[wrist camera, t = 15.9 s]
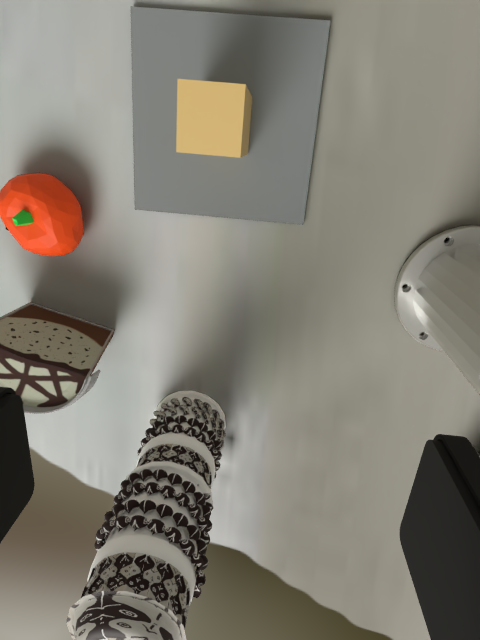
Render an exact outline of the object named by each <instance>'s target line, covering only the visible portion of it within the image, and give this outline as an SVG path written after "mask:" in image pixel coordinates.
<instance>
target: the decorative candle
mask: <svg viewBox="0 0 480 640" xmlns="http://www.w3.org/2000/svg"><path fill="white" fill-rule="evenodd" d="M154 415H155V419H151V420H150V424H151V425H152V426H153V428H149V429H147V430H146V432H145V434H146V438H144V439H142V441H141V445H142V447H141V448H140V449H139V450H138V455H139V457H138V460H137V464H136V467H135V469H134V470H133V471H132V472H131V473H130V474H129V475H128V476H127V477H126V479H125V480H124V481H123V482H122V483H121V488H122V490H120V492H119V494H118V495H116V496H115V498H114V504H115V505H114V506H113V508H112V511H109V512H107V513H106V514H105V517H104V519H105V523H104V524H103V525H102V528H101V529H100V530H98V531H97V534H96V539H97V541H96V542H95V548H96V549H97V551H98V552H97V554H96V557H95V559H94V561H93V564H92V566H91V569H90V572H89V576H88V580H87V581H88V583H87V584H86V586H85V588H84V591H83V594H82V597H81V599H80V600H79V601H77V602H76V603H75V604H74V605H73V606H72V607H70V610H69V614H68V618H67V625H68V628H69V631H70V634H71V637H72V638H73V639H74V640H186V637H185V631H184V630H185V625H186V619H187V614H188V608H189V605H190V603H191V600H192V598H193V597H196V598H198V597H199V595H200V594H201V588H200V586H199V585H201V586H202V585H203V584H204V583H205V575H204V573H203V572H202V571H201V570H204V569H205V568H206V567H207V565H208V560H207V558H206V556H205V553H206V549H207V544H209V542H210V537H209V534H208V533H207V532H208V531H210V530H211V528H212V523H211V521H210V520H209V518H210V515H211V511H212V509H213V506H212V505H213V503H212V495H211V490H210V489H211V486H212V484H213V481H214V479H215V478H216V472H215V471H217V470H218V469H219V468H220V463H219V462H218V461H217V460H219V459H220V458H221V456H222V454H221V452H220V450H221V449H222V448H223V446H224V441H223V439H224V438H225V428H226V422H225V414H224V412H223V411H222V409H221V407H220V406H219V404H218V403H217V402H216V401H214V400H213V399H212V398H210V397H209V396H208V395H206V394H203V393H199V392H196V391H178V392H175V393H173V394H170V395H168V396H166V397H165V398H164V399H163V400H162V401H161V402H160V404H159V405H158V407H157V410H156V411H154ZM114 516H115V517H116V519H115V521H113V520H112V519H113V517H114ZM105 534H106V537H105ZM104 537H105V538H104ZM105 540H107V541H106V542H105ZM196 565H197V569H196V571H195V570H194V567H195V566H196Z"/></svg>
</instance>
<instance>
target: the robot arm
mask: <svg viewBox="0 0 480 640" xmlns="http://www.w3.org/2000/svg"><path fill="white" fill-rule="evenodd" d="M447 237H448V240H447V241H446V242H444V240H445V238H447ZM404 284H406V287H402V286H403V285H404ZM394 302H395V309H396V312H397V315H398V318H399V320H400V322H401V323H402V325H403V327H404V328H405V329H406V330H407V332H408V333H409V334H410V335H411V336H412V337H413V338H414V339H415V340H416V341H418V342H419V343H421V344H423V345H425V346H427V347H429V348H432V349H435V350H439V351H444V352H445V353H446V354H447V355H448V357H449V358H450V359H451V360H452V362H453V363H454V364H455V365H456V367H457V368H458V369H459V370H460V372H461V373H462V374H463V375H464V377H465V378H466V379H467V380H468V381H469V383H470V384H471V385H472V386H473V388H474V389H475V390H476V391H477V393H478V394H479V395H480V226H476V225H471V226H460V227H456V228H453V229H449V230H446V231H444V232H441V233H439V234H437V235H435V236H433V237H432V238H430V239H429V240H427V241H426V242H424V243H423V244H421V245H420V246H419V247H418V248H417V249H416V250H415V251H414V252H413V253H412V254H411V255H410V257H409V258H408V260H407V261H406V262H405V264H404V265H403V267H402V269H401V271H400V273H399V275H398V278H397V282H396V286H395V294H394ZM422 332H423V333H422ZM420 333H422V334H420ZM33 490H34V478H33V470H32V464H31V458H30V450H29V443H28V436H27V430H26V423H25V416H24V409H23V402H22V398H21V397H20V396H19V395H16V392H15V391H14V389H12V388H8V387H0V543H1V541H2V540H3V538H4V537H5V535H6V534H7V532H8V531H9V529H10V528H11V526H12V525H13V524H14V522H15V521H16V519H17V518H18V516H19V515H20V513H21V512H22V510H23V509H24V507H25V506H26V505H27V503H28V502H29V500H30V498H31V496H32V494H33ZM400 541H401V545H402V549H403V552H404V555H405V558H406V561H407V565H408V568H409V571H410V574H411V577H412V581H413V584H414V587H415V590H416V593H417V596H418V600H419V603H420V606H421V609H422V612H423V616H424V619H425V622H426V625H427V628H428V632H429V635H430V638H431V640H480V457H479V455H478V454H477V452H476V451H475V449H474V448H473V446H472V445H471V443H470V442H469V440H468V439H467V438H465V437H461V436H452V435H442V434H438V435H436V436H435V438H434V440H428V441H427V442H426V444H425V447H424V450H423V454H422V457H421V460H420V464H419V467H418V470H417V473H416V477H415V480H414V483H413V486H412V490H411V493H410V496H409V500H408V503H407V506H406V509H405V513H404V516H403V519H402V522H401V526H400Z"/></svg>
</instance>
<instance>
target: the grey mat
mask: <svg viewBox="0 0 480 640" xmlns="http://www.w3.org/2000/svg"><path fill="white" fill-rule="evenodd" d="M329 28H330V20H316V19H302V18H288V17H273V16H259V15H245V14H231V13H217V12H203V11H188V10H174V9H160V8H146V7H132V6H131V48H132V97H133V146H134V195H135V210H146V211H157V212H169V213H180V214H191V215H202V216H213V217H224V218H235V219H246V220H257V221H269V222H280V223H291V224H302V225H303V224H304V216H305V209H306V201H307V194H308V186H309V179H310V171H311V163H312V156H313V148H314V141H315V133H316V126H317V118H318V111H319V103H320V96H321V88H322V81H323V73H324V66H325V58H326V51H327V43H328V36H329ZM178 79H187V80H200V81H212V82H225V83H237V84H246V86H247V88H248V90H249V92H250V94H251V95H252V109H251V122H250V134H249V147H248V154H247V155H245V156H243V157H241V158H237V157H226V156H214V155H203V154H191V153H180V152H176V135H177V80H178Z"/></svg>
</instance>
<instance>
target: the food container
mask: <svg viewBox="0 0 480 640" xmlns="http://www.w3.org/2000/svg"><path fill="white" fill-rule="evenodd" d="M113 333H114V330H113V329H110V328H107V327H104V326H101V325H98V324H95V323H92V322H89V321H86V320H83V319H80V318H77V317H74V316H71V315H68V314H65V313H62V312H59V311H56V310H53V309H50V308H47V307H44V306H41V305H38V304H35V303H32V302H30V303H28V304H26V305H24V306H22V307H20V308H18V309H16V310H14V311H12V312H10V313H8V314H6V315H4V316H2V317H0V387H8V388H12V389H14V391H15V392H16V395H19V396H20V397H21V398H22V402H23V409H24V412H26V413H34V414H35V413H49V412H54V411H57V410H60V409H63V408H65V407H67V406H69V405H71V404H73V403H74V402H76V401H77V400H78V399H80V398H81V397H82V396H84V395H85V394H86V393H87V392H88V391H89V390H90V389H91V388H92V387H93V385H94V384H95V382H96V380H97V378H98V375H99V372H100V370H98V371H96V372H95V373H94V374H92V372H93V371H94V369H95V367H96V365H97V363H98V362H99V360H100V358H101V356H102V354H103V353H104V351H105V349H106V347H107V345H108V344H109V342H110V340H111V338H112V336H113ZM91 374H92V375H91Z"/></svg>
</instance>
